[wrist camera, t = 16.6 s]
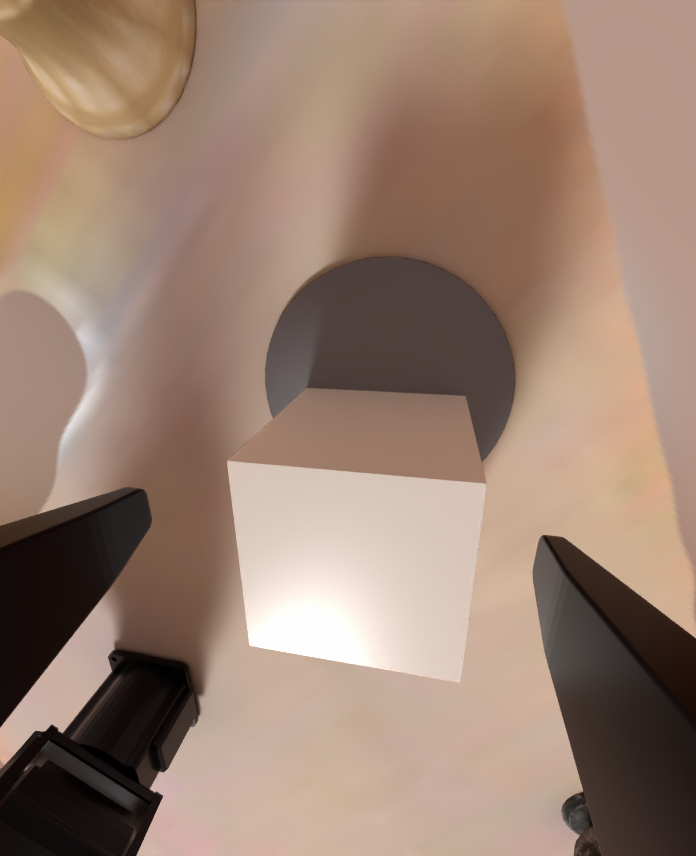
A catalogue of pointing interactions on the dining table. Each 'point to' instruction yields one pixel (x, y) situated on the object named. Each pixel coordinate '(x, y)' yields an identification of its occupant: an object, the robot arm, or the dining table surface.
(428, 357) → the disc
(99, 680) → the dining table surface
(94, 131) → the hand bell
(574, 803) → the salt shaker
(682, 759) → the robot arm
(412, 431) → the white block
